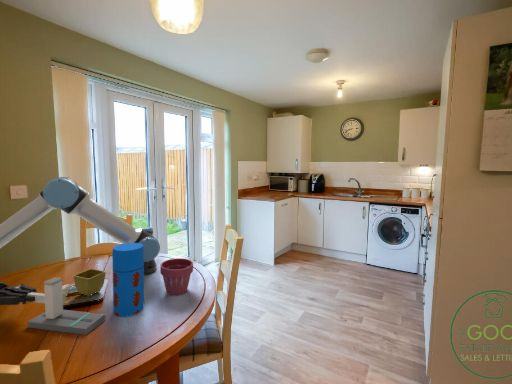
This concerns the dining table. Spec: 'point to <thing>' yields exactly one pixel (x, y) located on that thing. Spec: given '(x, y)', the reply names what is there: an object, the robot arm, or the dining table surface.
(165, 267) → the plant pot
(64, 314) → the console
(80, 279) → the flower pot
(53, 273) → the dining table surface
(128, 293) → the thermos
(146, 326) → the dining table surface
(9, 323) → the dining table surface
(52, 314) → the fader tab
